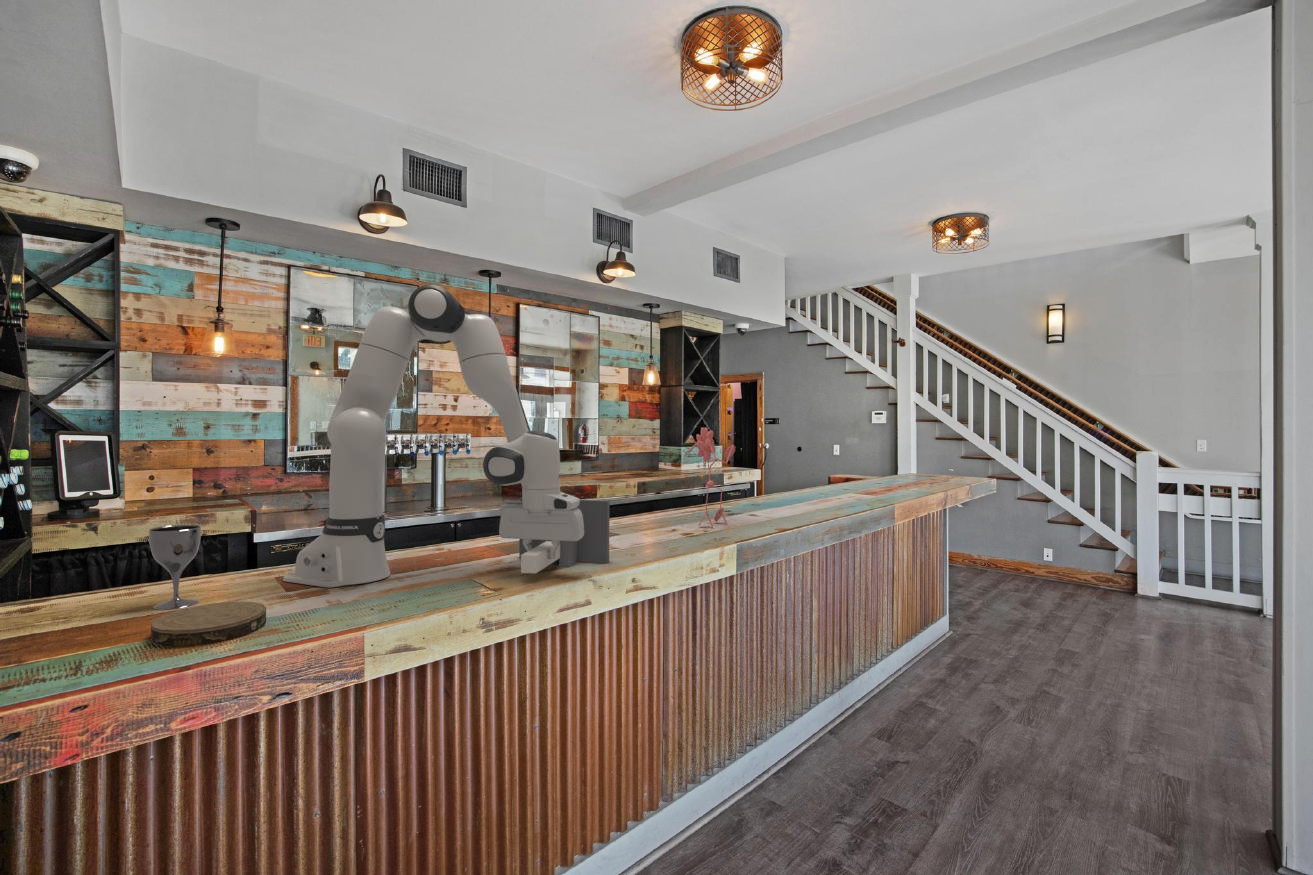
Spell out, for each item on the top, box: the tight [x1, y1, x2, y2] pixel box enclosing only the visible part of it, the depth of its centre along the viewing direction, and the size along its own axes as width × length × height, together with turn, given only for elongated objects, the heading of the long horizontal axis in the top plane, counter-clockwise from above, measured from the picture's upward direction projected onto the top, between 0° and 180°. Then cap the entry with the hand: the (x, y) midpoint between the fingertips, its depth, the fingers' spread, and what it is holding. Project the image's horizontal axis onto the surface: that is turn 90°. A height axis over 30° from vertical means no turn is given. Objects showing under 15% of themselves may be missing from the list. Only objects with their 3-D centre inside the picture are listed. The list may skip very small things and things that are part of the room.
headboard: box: [518, 497, 610, 568], centre depth 158 cm, size 24×8×16 cm, turn 79°
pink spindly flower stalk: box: [681, 427, 736, 528], centre depth 220 cm, size 15×26×35 cm, turn 142°
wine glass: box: [148, 524, 202, 611], centre depth 120 cm, size 8×8×15 cm
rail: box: [520, 541, 560, 574], centre depth 149 cm, size 4×22×6 cm, turn 169°
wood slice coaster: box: [150, 600, 267, 648], centre depth 105 cm, size 16×16×3 cm
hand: (541, 558), depth 146 cm, fingers closed on rail, 3 cm apart
